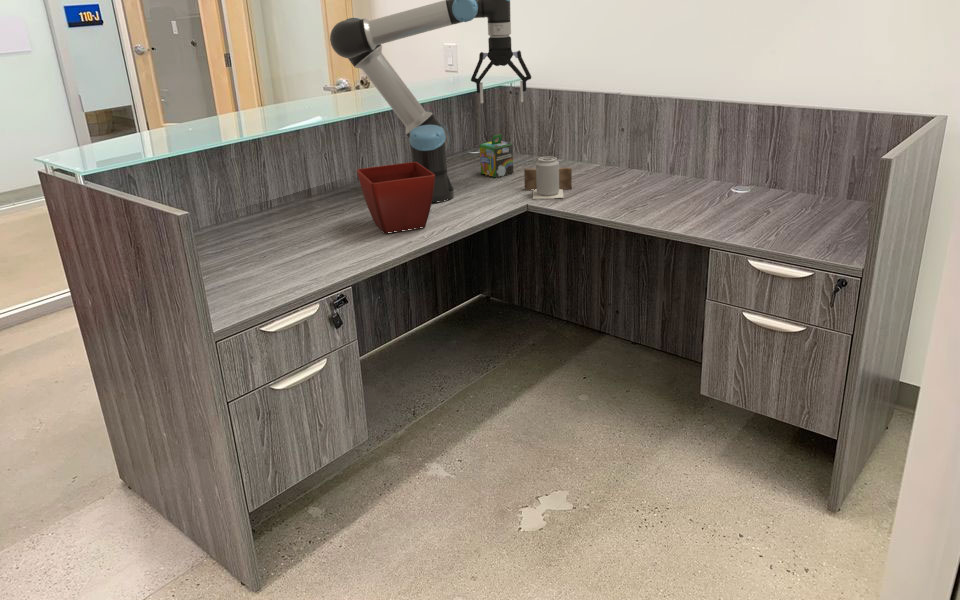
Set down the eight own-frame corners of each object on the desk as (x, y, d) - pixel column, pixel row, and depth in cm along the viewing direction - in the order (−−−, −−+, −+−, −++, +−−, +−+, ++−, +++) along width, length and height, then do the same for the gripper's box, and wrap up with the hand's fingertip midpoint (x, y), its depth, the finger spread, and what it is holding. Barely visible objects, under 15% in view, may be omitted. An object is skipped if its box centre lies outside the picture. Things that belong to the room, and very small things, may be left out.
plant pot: (440, 229, 226) (436, 174, 220) (377, 240, 220) (371, 183, 214) (420, 213, 243) (416, 161, 236) (362, 222, 237) (355, 169, 230)
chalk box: (498, 169, 291) (496, 131, 285) (514, 173, 284) (513, 133, 278) (479, 174, 285) (477, 135, 279) (495, 178, 279) (494, 138, 273)
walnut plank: (524, 190, 262) (524, 170, 259) (524, 188, 264) (524, 168, 261) (571, 189, 261) (571, 168, 258) (571, 187, 262) (571, 167, 260)
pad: (532, 199, 251) (532, 198, 250) (533, 191, 260) (533, 189, 260) (563, 199, 250) (563, 197, 250) (562, 190, 259) (562, 189, 259)
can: (559, 190, 258) (558, 155, 253) (559, 196, 251) (558, 160, 246) (536, 190, 258) (536, 155, 254) (536, 196, 252) (535, 160, 247)
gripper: (460, 38, 248) (464, 105, 256) (537, 35, 245) (538, 102, 254) (463, 36, 255) (466, 101, 263) (537, 33, 252) (538, 99, 261)
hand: (501, 102), depth 258 cm, fingers open, 13 cm apart
